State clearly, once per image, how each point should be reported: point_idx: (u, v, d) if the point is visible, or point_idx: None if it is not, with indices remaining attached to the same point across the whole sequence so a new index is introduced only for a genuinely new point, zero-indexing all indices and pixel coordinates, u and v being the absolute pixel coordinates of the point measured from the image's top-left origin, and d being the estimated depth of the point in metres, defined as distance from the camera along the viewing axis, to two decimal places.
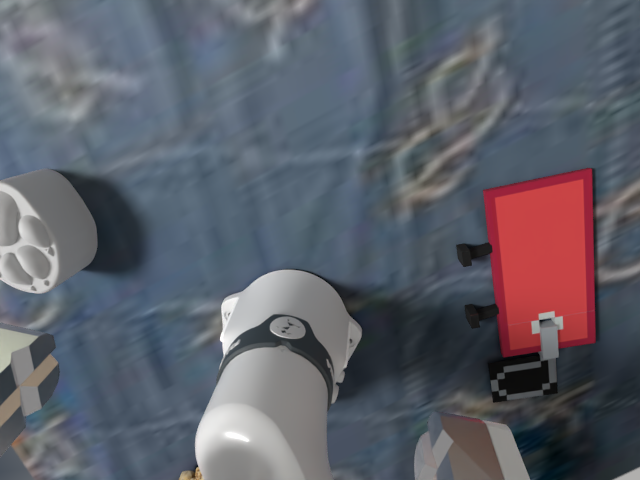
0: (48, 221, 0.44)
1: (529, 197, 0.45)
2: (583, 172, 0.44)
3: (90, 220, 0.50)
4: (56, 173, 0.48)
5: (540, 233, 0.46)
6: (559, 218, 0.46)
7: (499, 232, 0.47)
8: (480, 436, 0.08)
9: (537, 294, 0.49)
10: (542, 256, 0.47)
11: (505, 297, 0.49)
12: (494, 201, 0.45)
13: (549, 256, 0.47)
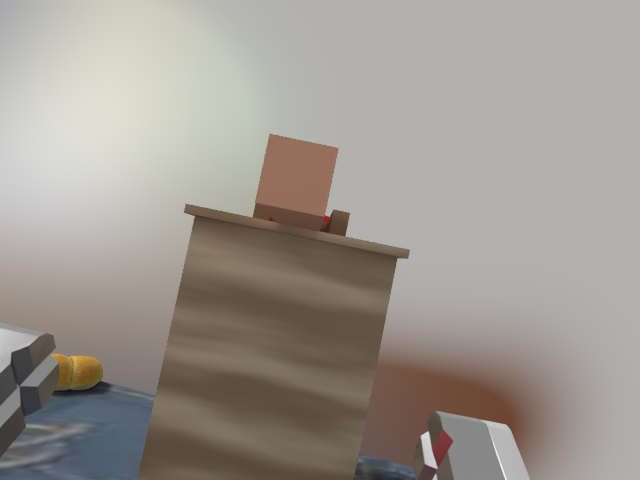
0: None
1: None
2: None
3: None
4: None
5: None
6: None
7: None
8: (480, 436, 0.08)
9: None
10: None
11: None
12: None
13: None
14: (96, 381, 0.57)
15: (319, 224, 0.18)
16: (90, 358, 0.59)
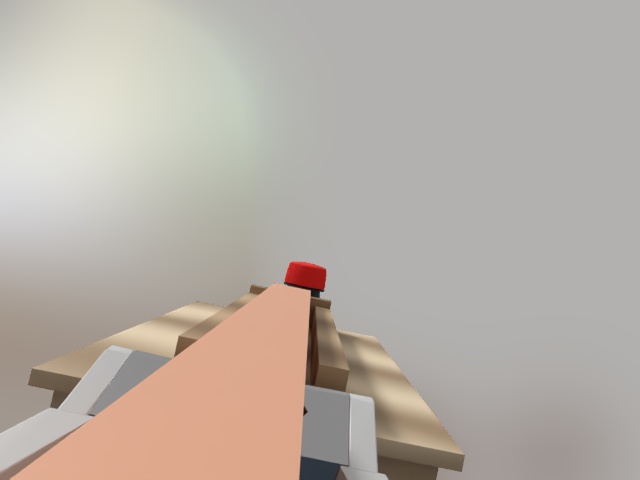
0: None
1: None
2: None
3: None
4: None
5: None
6: None
7: None
8: (338, 408, 0.08)
9: None
10: None
11: None
12: None
13: None
14: None
15: None
16: None
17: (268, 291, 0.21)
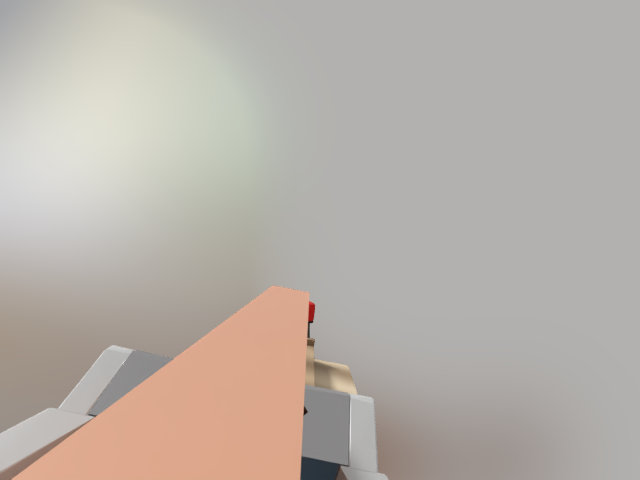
0: None
1: None
2: None
3: None
4: None
5: None
6: None
7: None
8: (338, 407, 0.08)
9: None
10: None
11: None
12: None
13: None
14: None
15: None
16: None
17: (267, 293, 0.21)
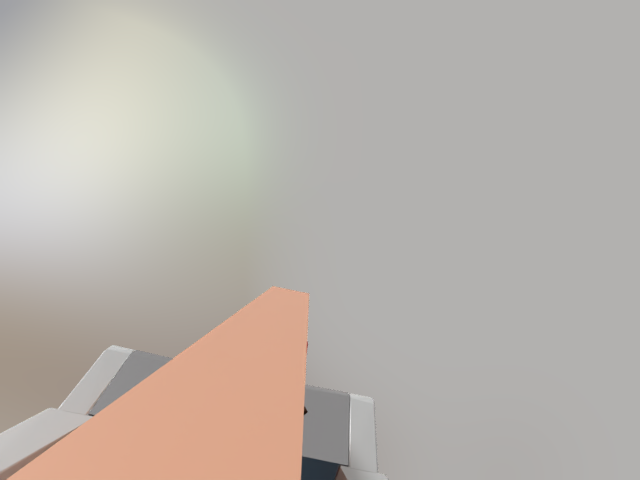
0: None
1: None
2: None
3: None
4: None
5: None
6: None
7: None
8: (338, 407, 0.08)
9: None
10: None
11: None
12: None
13: None
14: None
15: None
16: None
17: (266, 294, 0.21)
